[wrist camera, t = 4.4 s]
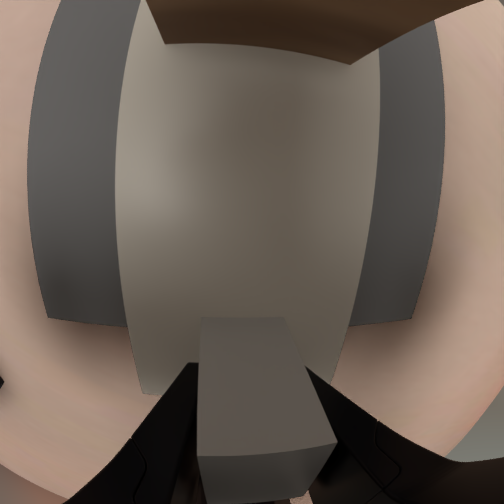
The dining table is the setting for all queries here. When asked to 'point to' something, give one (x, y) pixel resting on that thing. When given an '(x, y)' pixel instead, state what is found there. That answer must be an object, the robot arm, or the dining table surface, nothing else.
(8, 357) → the dining table surface
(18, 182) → the dining table surface
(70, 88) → the charcoal board
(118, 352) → the dining table surface
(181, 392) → the robot arm
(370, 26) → the walnut block
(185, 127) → the off-white strip
